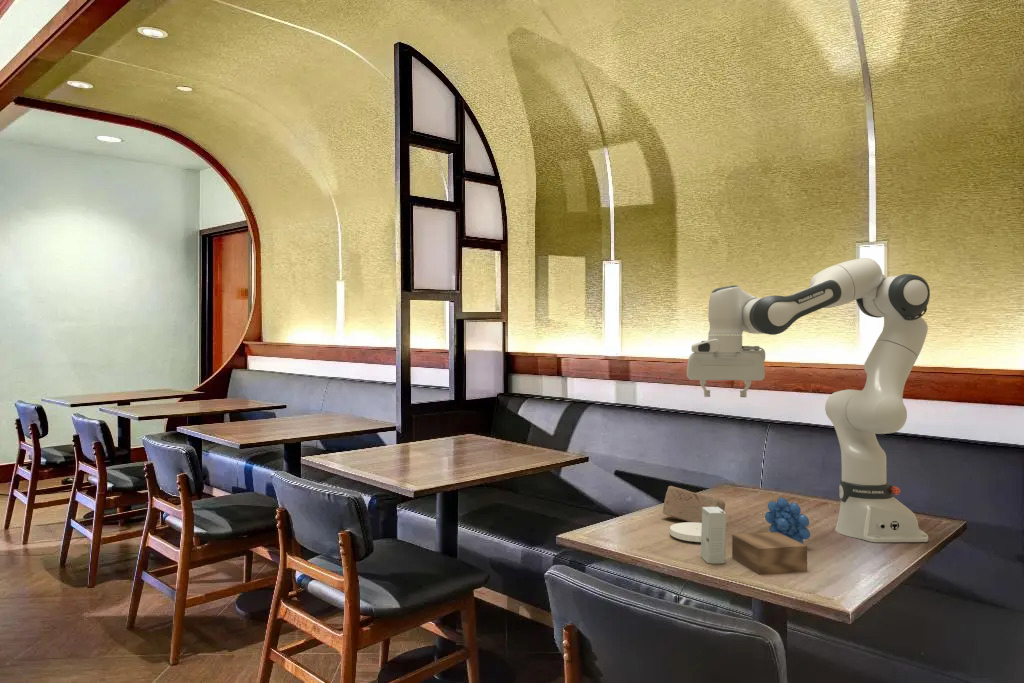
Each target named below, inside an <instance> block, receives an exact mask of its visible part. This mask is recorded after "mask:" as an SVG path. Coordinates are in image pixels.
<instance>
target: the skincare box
mask: <svg viewBox="0 0 1024 683" xmlns="http://www.w3.org/2000/svg"><path fill="white" fill-rule="evenodd" d="M726 536H727V512H725V510H724V511H723V510H722V509H720V508H719V507H702V531H701V542H700V557H701V558H702V560H704V562H706V563H707V564H712V565H713V564H716V565H717V564H725V562H726V540H727V539H726V538H727V537H726Z"/></svg>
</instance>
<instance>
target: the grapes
mask: <svg viewBox="0 0 1024 683" xmlns="http://www.w3.org/2000/svg"><path fill="white" fill-rule="evenodd" d="M767 508H768V511H766V513H764V518H765V521H766V522H767V523H768V524H770V526H769V532H779V533H781V534H783V535H785V536H787V537H790V538H792V539H794V540H796V541H798V542H800V543H802V544H804V540H806V541H807V540H809V539H810V538H811V532H810V530H809V528H807V527H808V526H809V525H810V519H809V518H808V516H807V515H805V514H804V513H801V512H802V509H801V507H800V505H799V504H798V503H795V502H794V501H793V502H790V503H789V501H788V500H787V499H786V498H785V497H779V498H778V499H777V501H776V502H775V501H773V500H771V501H769V502H768V503H767Z"/></svg>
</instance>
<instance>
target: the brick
mask: <svg viewBox="0 0 1024 683" xmlns="http://www.w3.org/2000/svg"><path fill="white" fill-rule="evenodd" d="M702 507H719V508H720V509H722V510H723V511H724V512H725V509H726V502H725V501H724V500H722V499H719V498H718V497H717V498H716V497H714V496H711V495H707V494H703V493H696V492H693V491H690V490H687V489H684V488H680V487H676V486H673V485H669V486H668V487H667V491H666V493H665V498H664V502H663V509H662V514H664V515H666V516H669V517H671V518H675V519H679V520H682V521H686V522H696V523H697V522H698V523H702Z"/></svg>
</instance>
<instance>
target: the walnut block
mask: <svg viewBox="0 0 1024 683" xmlns="http://www.w3.org/2000/svg"><path fill="white" fill-rule="evenodd" d="M731 538H732V539H731V540H732V542H731V544H732V545H731V546H732V550H731V551H732V552H731V557H732V558H731V559H732V560H734V561H736V562H738V563H739V564H740V565H743V567H746V568H747V569H749V570H751V571H752V572H754V573H755V574H756V575H757V574H758V575H769V574H771V575H772V574H784V573H797V572H808V545H807V544H805V543H803V544H802V543H800V542H798V541H796V540H794V539H792V538H790V537H787V536H785V535H783V534H781V533H779V532H770V531H768V532H754V533H752V532H751V533H738V534H735V533H734V534H732V536H731Z"/></svg>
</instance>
